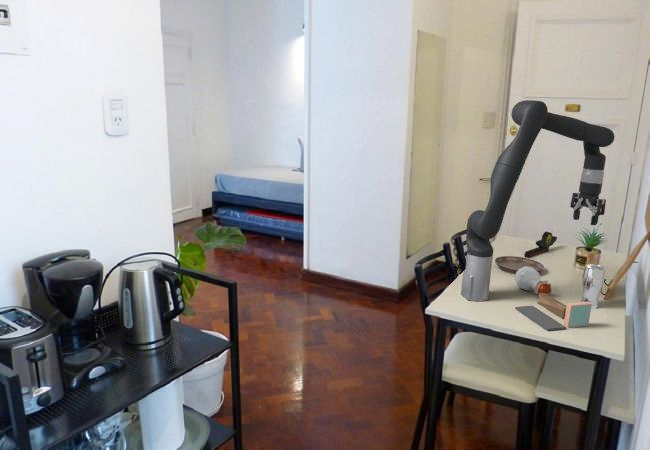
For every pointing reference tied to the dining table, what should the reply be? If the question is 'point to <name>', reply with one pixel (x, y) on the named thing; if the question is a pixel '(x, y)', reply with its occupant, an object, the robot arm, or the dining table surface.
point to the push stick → (552, 305)
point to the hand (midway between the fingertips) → (584, 222)
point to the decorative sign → (542, 245)
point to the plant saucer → (517, 264)
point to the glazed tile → (577, 314)
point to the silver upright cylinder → (592, 283)
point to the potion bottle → (531, 281)
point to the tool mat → (540, 318)
